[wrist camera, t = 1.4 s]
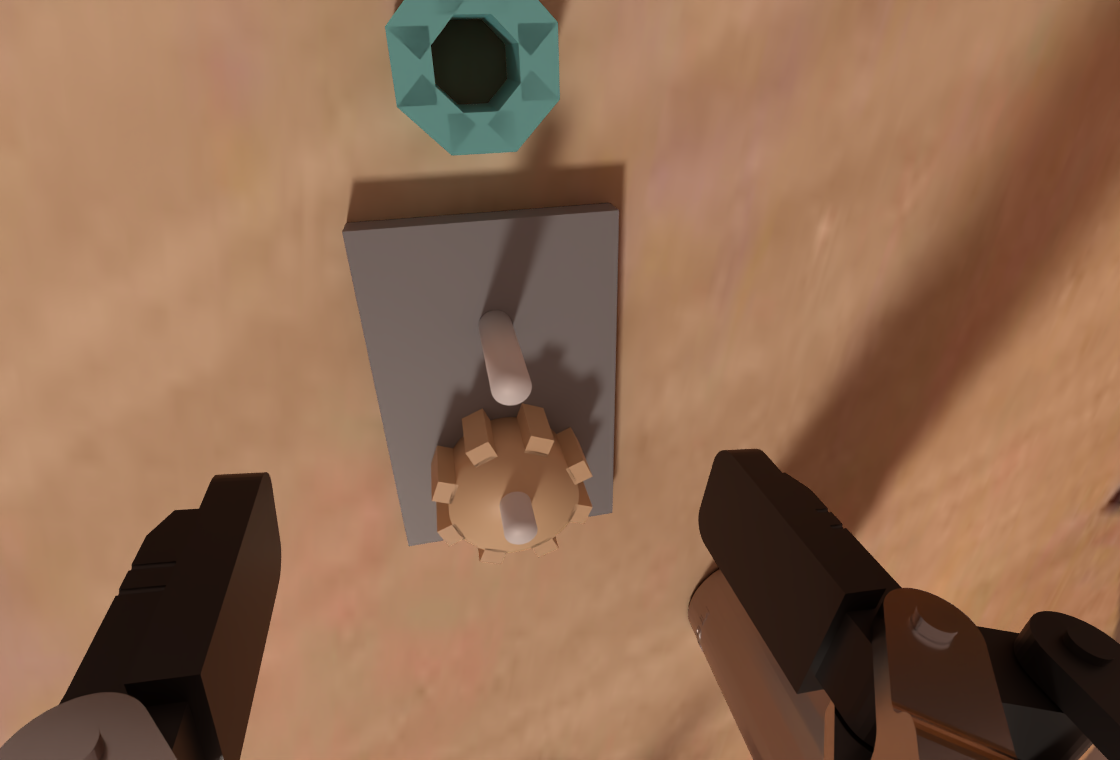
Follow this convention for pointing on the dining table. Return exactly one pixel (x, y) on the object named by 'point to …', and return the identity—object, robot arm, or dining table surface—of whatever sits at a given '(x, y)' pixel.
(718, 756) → the dining table surface
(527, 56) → the hollow teal octagon tube
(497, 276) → the gear board
